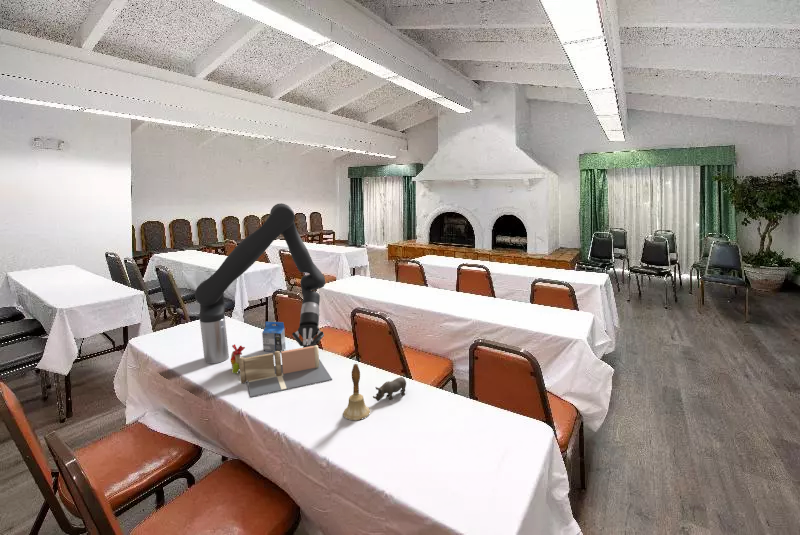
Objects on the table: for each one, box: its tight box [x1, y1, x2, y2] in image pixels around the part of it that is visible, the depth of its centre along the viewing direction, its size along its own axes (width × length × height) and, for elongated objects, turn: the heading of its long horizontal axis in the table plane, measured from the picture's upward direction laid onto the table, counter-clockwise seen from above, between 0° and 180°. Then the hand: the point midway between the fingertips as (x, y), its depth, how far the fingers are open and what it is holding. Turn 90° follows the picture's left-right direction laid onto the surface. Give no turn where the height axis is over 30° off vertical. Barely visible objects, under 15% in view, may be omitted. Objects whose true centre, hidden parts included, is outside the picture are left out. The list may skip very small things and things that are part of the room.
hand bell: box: [342, 363, 371, 421], centre depth 123 cm, size 8×8×16 cm
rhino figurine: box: [372, 376, 407, 402], centre depth 133 cm, size 4×14×6 cm, turn 127°
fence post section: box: [239, 351, 282, 384], centre depth 147 cm, size 2×14×9 cm, turn 115°
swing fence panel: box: [280, 344, 320, 374], centre depth 152 cm, size 2×14×8 cm, turn 115°
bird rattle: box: [230, 344, 246, 375], centre depth 154 cm, size 6×11×9 cm
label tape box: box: [261, 321, 287, 352], centre depth 174 cm, size 9×4×12 cm, turn 80°
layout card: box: [247, 358, 333, 398], centre depth 150 cm, size 21×28×1 cm
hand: (306, 355), depth 156 cm, fingers closed
